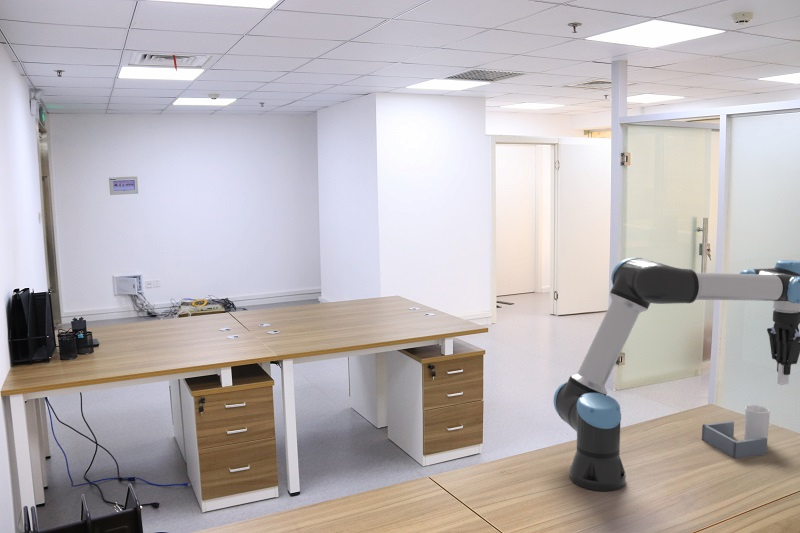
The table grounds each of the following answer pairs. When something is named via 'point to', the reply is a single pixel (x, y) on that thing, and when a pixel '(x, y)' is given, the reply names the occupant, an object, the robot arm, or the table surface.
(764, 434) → the mug
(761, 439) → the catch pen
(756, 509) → the table surface
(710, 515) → the table surface
